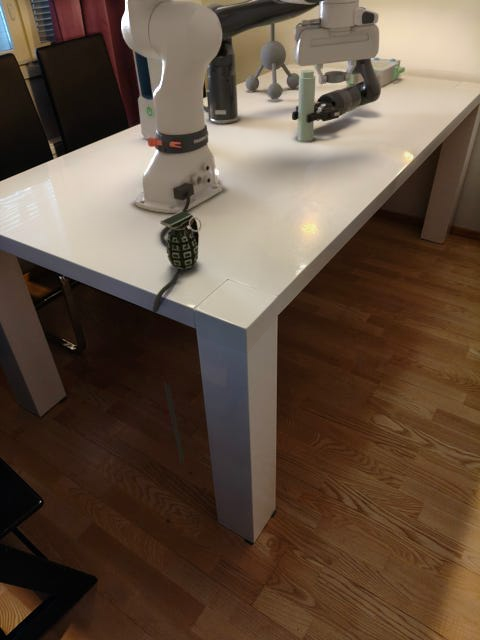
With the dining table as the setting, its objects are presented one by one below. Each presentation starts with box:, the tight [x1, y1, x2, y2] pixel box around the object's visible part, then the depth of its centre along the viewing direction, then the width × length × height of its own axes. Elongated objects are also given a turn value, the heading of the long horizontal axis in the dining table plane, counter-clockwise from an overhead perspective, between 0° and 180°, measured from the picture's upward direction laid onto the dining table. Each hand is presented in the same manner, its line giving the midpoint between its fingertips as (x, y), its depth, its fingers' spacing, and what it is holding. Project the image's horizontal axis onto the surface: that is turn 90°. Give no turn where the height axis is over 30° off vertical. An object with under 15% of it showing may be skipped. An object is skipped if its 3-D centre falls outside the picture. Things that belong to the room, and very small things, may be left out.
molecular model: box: [245, 23, 300, 100], centre depth 182 cm, size 24×22×30 cm
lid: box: [324, 70, 346, 84], centre depth 119 cm, size 5×5×2 cm
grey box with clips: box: [345, 57, 406, 88], centre depth 197 cm, size 26×6×20 cm
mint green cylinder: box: [297, 69, 316, 143], centre depth 140 cm, size 4×4×18 cm
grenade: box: [159, 211, 202, 271], centre depth 88 cm, size 7×6×10 cm
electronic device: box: [132, 50, 163, 140], centre depth 143 cm, size 12×8×30 cm, turn 47°
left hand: (334, 82), depth 120 cm, fingers closed on lid, 5 cm apart
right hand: (300, 117), depth 140 cm, fingers closed on mint green cylinder, 4 cm apart
